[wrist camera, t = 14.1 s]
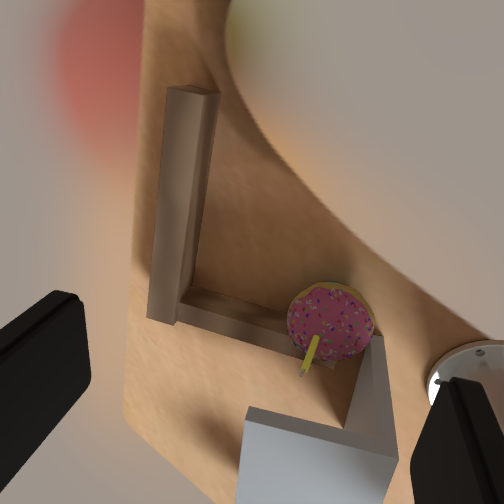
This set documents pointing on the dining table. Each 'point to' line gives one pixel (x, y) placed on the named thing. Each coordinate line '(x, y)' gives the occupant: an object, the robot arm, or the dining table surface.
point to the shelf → (324, 448)
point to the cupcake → (329, 322)
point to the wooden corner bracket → (188, 230)
